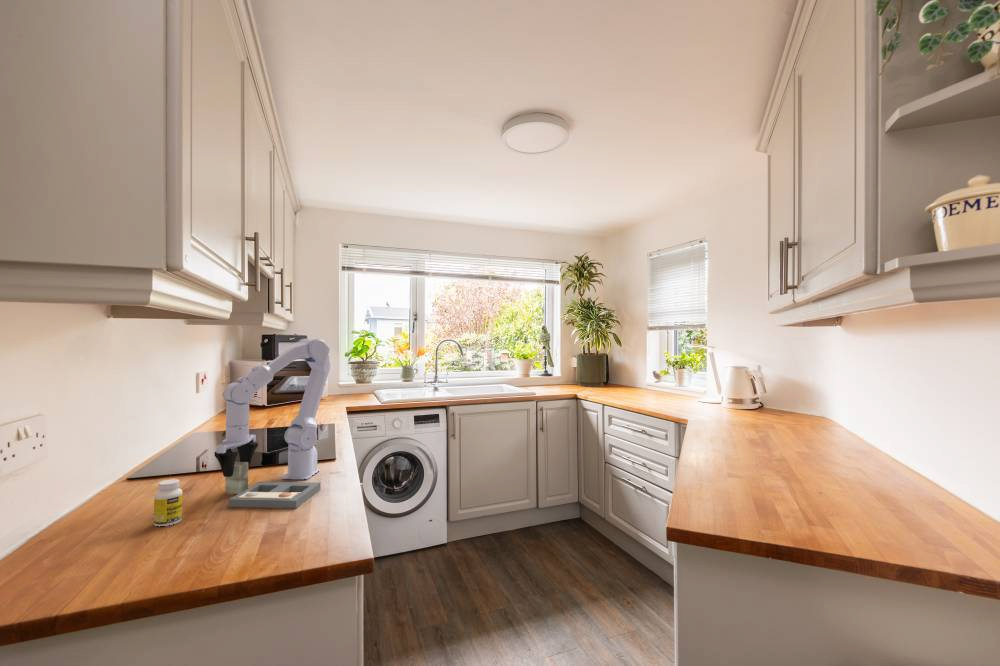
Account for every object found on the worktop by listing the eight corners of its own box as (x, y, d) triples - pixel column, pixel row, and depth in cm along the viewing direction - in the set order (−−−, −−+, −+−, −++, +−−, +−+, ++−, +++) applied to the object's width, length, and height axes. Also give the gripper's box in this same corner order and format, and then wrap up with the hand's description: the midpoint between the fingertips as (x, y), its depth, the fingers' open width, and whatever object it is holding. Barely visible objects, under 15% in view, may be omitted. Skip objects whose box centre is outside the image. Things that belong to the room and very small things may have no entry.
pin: (234, 489, 127) (234, 461, 127) (247, 489, 127) (248, 462, 127) (225, 494, 123) (225, 465, 123) (239, 494, 123) (239, 466, 123)
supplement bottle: (166, 528, 101) (167, 486, 101) (147, 526, 102) (148, 484, 102) (187, 519, 106) (188, 478, 106) (169, 517, 107) (170, 477, 107)
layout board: (260, 488, 128) (260, 479, 128) (320, 489, 127) (320, 481, 127) (228, 507, 114) (228, 497, 114) (296, 508, 113) (296, 498, 113)
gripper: (240, 419, 133) (239, 464, 132) (206, 429, 118) (205, 480, 118) (262, 420, 132) (262, 465, 132) (231, 430, 118) (230, 480, 118)
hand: (236, 472), depth 125 cm, fingers open, 7 cm apart
